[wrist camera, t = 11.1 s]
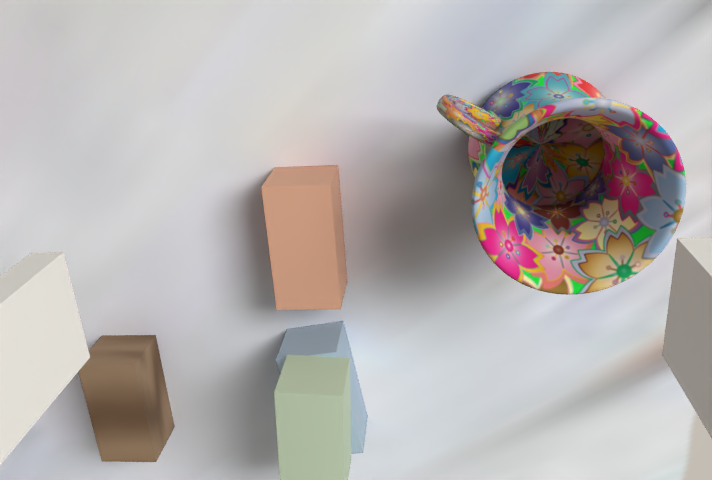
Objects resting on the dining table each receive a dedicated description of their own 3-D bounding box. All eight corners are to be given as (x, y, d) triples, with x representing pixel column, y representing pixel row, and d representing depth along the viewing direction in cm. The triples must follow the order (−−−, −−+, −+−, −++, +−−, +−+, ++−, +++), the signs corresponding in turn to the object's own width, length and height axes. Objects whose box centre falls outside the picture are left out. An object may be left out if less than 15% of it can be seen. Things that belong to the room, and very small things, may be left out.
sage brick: (351, 458, 45) (344, 503, 42) (292, 454, 46) (281, 498, 42) (349, 357, 42) (342, 395, 38) (287, 354, 42) (274, 392, 39)
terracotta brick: (275, 166, 42) (261, 186, 38) (338, 164, 41) (330, 184, 38) (288, 281, 45) (276, 309, 41) (347, 280, 45) (340, 309, 41)
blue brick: (287, 328, 46) (275, 360, 43) (343, 320, 46) (336, 351, 42) (314, 421, 49) (305, 459, 46) (367, 415, 49) (363, 452, 45)
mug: (656, 119, 38) (734, 175, 29) (553, 242, 42) (591, 329, 32) (484, 1, 37) (506, 18, 27) (392, 140, 40) (382, 198, 31)
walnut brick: (103, 334, 48) (76, 365, 44) (156, 333, 48) (134, 365, 44) (124, 424, 51) (101, 461, 47) (175, 425, 51) (156, 461, 47)
